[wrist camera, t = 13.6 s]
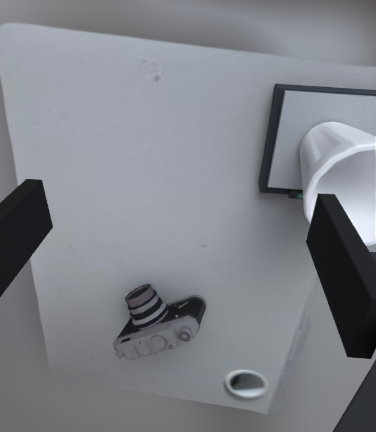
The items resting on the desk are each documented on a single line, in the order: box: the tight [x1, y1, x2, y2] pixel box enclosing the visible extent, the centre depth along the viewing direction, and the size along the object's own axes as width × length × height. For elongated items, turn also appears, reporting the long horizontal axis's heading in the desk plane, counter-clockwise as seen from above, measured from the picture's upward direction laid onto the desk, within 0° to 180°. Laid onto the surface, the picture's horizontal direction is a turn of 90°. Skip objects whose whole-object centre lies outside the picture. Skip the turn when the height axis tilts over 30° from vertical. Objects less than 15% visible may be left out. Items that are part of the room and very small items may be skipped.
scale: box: [259, 84, 376, 199], centre depth 41 cm, size 13×13×4 cm
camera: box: [113, 284, 206, 360], centre depth 56 cm, size 16×9×10 cm, turn 119°
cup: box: [300, 121, 376, 245], centre depth 34 cm, size 10×10×13 cm
